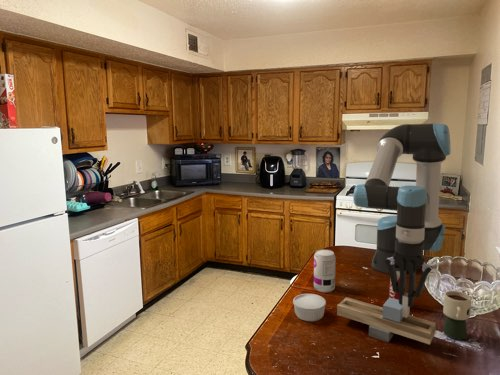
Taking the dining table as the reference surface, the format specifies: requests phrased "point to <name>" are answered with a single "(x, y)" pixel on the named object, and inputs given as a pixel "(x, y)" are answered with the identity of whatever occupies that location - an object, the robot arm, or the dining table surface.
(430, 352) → the dining table surface
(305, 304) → the ramekin
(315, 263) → the supplement can
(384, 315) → the block
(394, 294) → the soda can
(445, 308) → the character mug
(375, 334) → the beam
